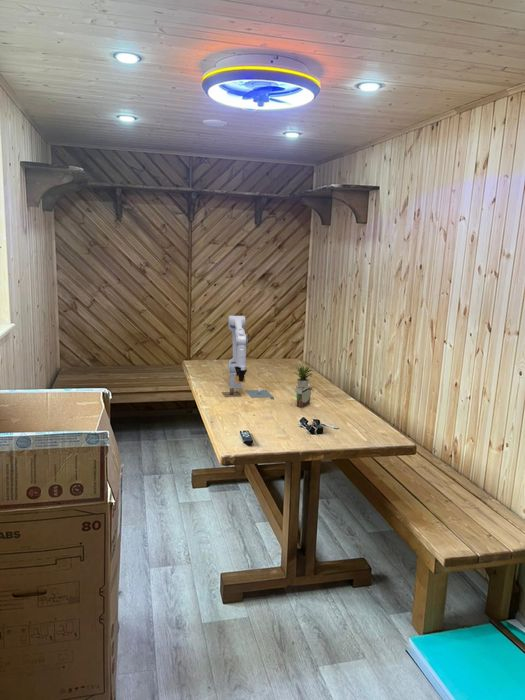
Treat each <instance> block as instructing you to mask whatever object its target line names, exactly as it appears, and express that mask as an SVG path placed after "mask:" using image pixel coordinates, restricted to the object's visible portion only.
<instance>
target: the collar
mask: <svg viewBox="0 0 525 700" xmlns="http://www.w3.org/2000/svg"><path fill="white" fill-rule="evenodd" d="M235 382H236V383H242V384H245V383H246V375H245V376H244V380H243V382H240V381H239V376H238V374H236V375H235Z"/></svg>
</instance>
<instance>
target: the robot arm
mask: <svg viewBox="0 0 525 700" xmlns="http://www.w3.org/2000/svg"><path fill="white" fill-rule="evenodd" d="M227 320H228V321H227V323H228V330H229V331H231V335H232V336H231V337H232V358H230V359H229V360H228V364H227V372H228V373H229V387H230V388H233V389H240V388H243V383H236V382H235V375H236V374H238V376H239V381H240V382H243V380H244V376H245V377H246V374H247V372H248V369H247V368H246V367H247V364H246V363H247V346H248V341H249V339H248V335H246V331H245V326H246V316H245V315H228V319H227Z"/></svg>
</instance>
